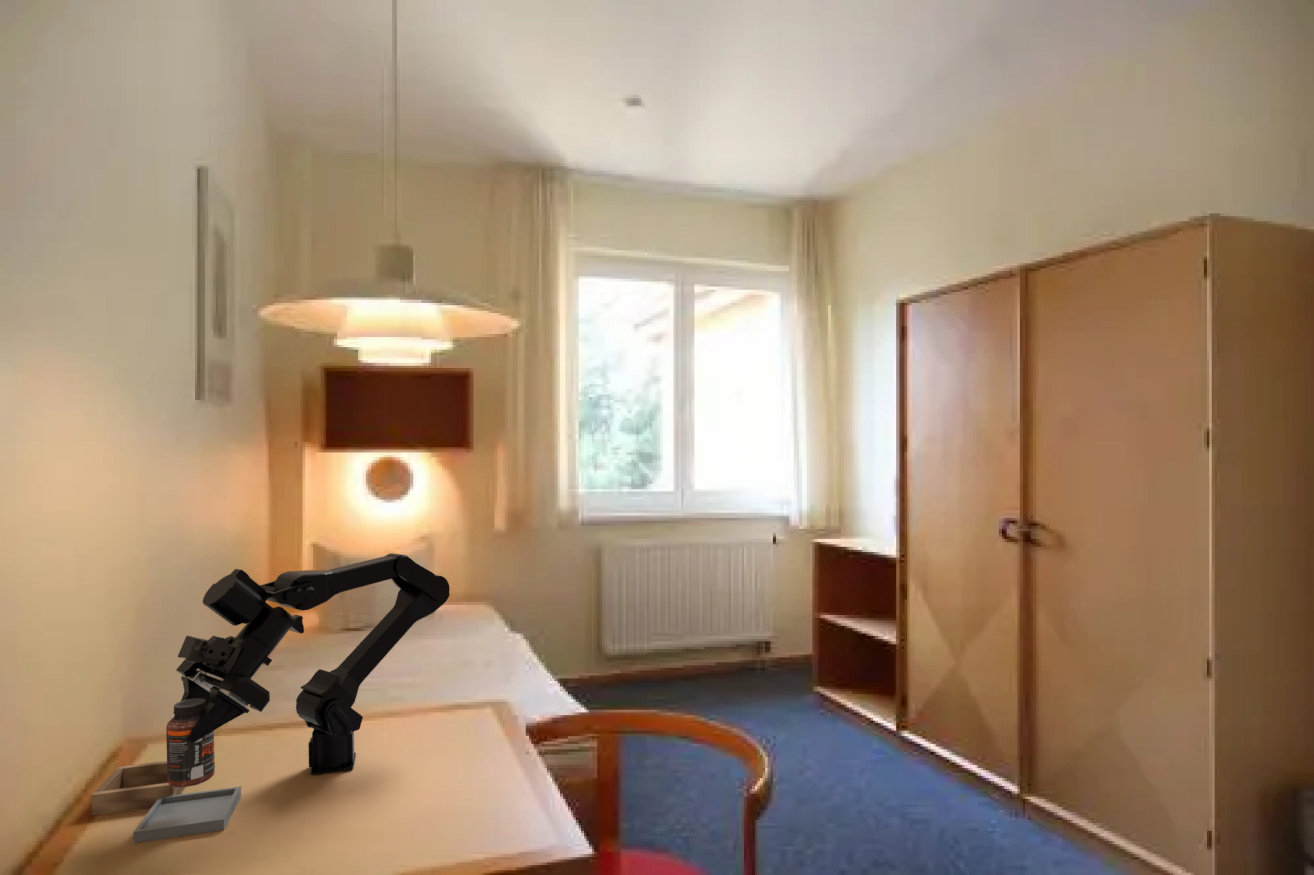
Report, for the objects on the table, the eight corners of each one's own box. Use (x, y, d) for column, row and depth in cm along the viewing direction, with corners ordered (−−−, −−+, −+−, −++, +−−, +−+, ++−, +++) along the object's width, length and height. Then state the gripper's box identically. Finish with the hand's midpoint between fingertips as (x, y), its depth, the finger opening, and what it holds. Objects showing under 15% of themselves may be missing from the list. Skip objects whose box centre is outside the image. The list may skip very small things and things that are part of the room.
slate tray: (241, 796, 119) (241, 786, 119) (223, 830, 109) (223, 819, 109) (159, 807, 116) (159, 797, 116) (133, 843, 106) (133, 832, 106)
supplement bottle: (211, 784, 111) (208, 705, 111) (162, 792, 109) (160, 712, 109) (218, 768, 116) (216, 693, 116) (172, 775, 114) (170, 698, 114)
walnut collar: (192, 776, 127) (192, 757, 127) (173, 804, 117) (173, 784, 117) (118, 785, 124) (118, 766, 124) (91, 815, 114) (91, 795, 114)
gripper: (188, 606, 121) (108, 696, 113) (245, 620, 110) (161, 723, 101) (242, 644, 128) (170, 733, 119) (301, 662, 116) (226, 761, 108)
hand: (180, 736), depth 111 cm, fingers closed on supplement bottle, 6 cm apart
